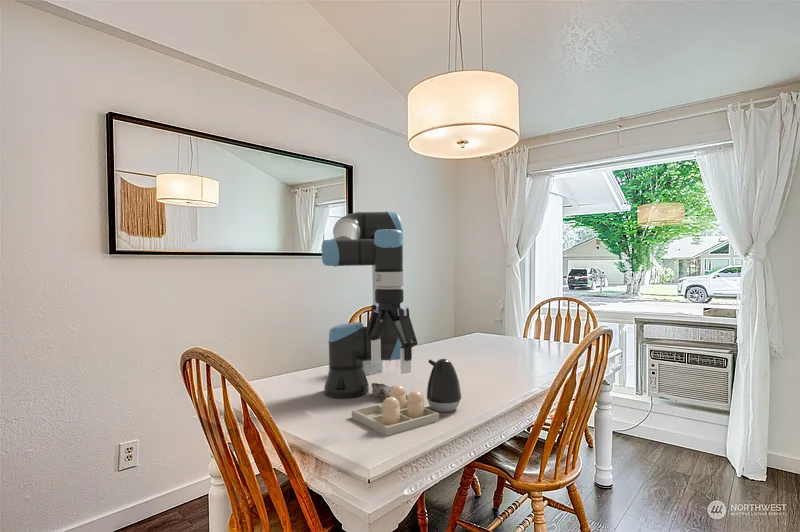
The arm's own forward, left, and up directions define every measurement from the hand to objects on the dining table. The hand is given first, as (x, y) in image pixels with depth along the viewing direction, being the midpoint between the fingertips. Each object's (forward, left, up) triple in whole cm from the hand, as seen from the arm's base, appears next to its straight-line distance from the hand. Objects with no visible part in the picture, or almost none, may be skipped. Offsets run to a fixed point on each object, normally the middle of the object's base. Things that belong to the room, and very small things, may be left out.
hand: (390, 368), depth 118 cm
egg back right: (0, +8, -15) cm, 17 cm away
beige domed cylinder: (-8, +8, -15) cm, 19 cm away
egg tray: (-4, +4, -16) cm, 17 cm away
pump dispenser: (-2, +21, -16) cm, 26 cm away
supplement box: (-57, +29, -16) cm, 66 cm away
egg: (0, 0, -15) cm, 15 cm away
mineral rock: (-22, +15, -16) cm, 31 cm away
